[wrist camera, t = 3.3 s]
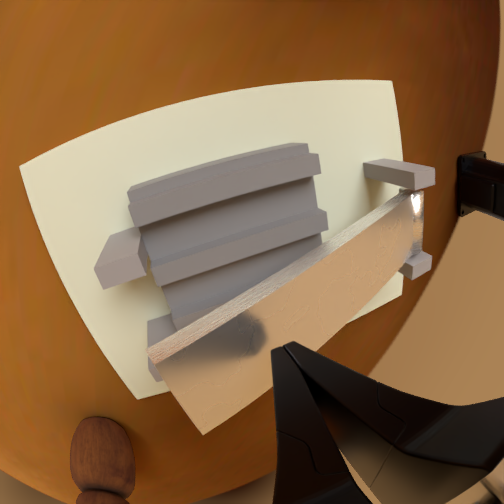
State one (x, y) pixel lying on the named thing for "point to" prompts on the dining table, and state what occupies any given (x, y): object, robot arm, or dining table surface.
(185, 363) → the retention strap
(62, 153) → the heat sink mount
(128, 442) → the wooden figurine
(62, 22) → the dining table surface
